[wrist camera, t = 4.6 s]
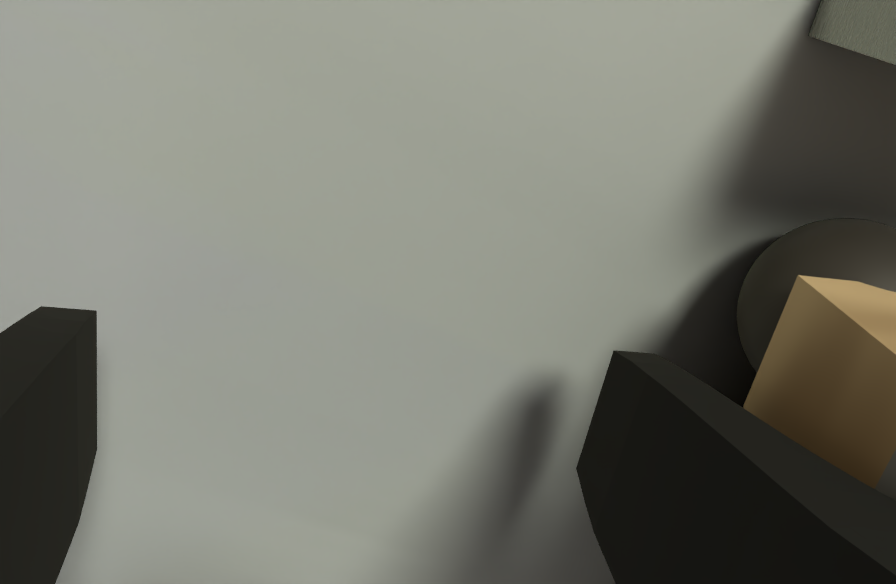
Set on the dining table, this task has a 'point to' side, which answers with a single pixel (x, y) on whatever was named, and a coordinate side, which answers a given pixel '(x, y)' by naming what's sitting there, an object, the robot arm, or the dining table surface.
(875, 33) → the dock
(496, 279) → the dining table surface
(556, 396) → the dining table surface
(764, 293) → the trolley
